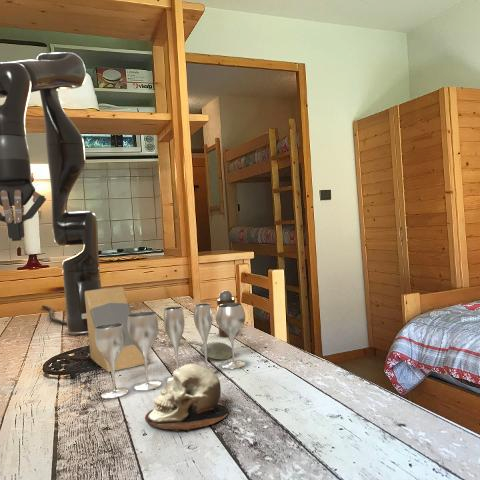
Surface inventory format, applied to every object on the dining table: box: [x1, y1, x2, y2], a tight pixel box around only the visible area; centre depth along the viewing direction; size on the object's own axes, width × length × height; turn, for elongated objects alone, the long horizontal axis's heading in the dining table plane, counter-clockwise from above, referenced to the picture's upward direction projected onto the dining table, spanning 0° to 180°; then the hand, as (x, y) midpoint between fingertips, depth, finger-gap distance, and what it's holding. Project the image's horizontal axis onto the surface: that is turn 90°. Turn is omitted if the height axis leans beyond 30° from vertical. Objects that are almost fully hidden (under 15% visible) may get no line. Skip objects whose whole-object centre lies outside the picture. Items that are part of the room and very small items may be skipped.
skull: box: [144, 363, 229, 432], centre depth 77 cm, size 12×10×10 cm
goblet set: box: [95, 302, 247, 400], centre depth 96 cm, size 28×6×13 cm, turn 126°
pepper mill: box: [216, 289, 236, 338], centre depth 129 cm, size 4×4×11 cm
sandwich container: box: [85, 286, 150, 373], centre depth 111 cm, size 9×15×15 cm, turn 37°
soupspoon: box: [169, 339, 232, 360], centre depth 115 cm, size 22×3×7 cm
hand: (16, 240), depth 110 cm, fingers closed
